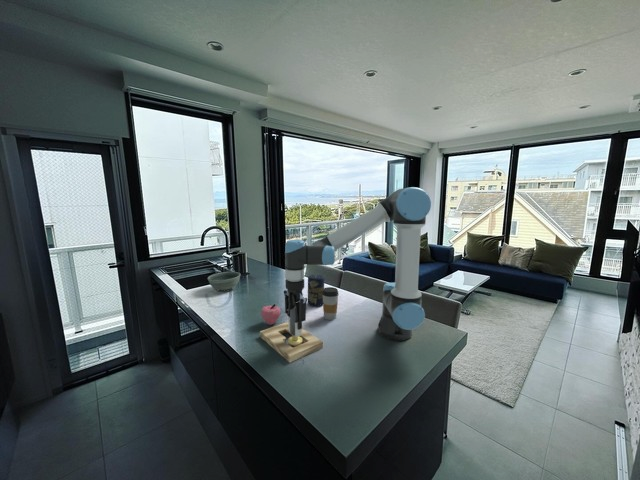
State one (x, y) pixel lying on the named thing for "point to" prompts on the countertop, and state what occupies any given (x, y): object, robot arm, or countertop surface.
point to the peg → (293, 330)
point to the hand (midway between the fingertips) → (295, 333)
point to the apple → (270, 314)
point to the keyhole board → (290, 354)
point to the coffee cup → (330, 302)
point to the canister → (315, 290)
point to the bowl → (224, 280)
